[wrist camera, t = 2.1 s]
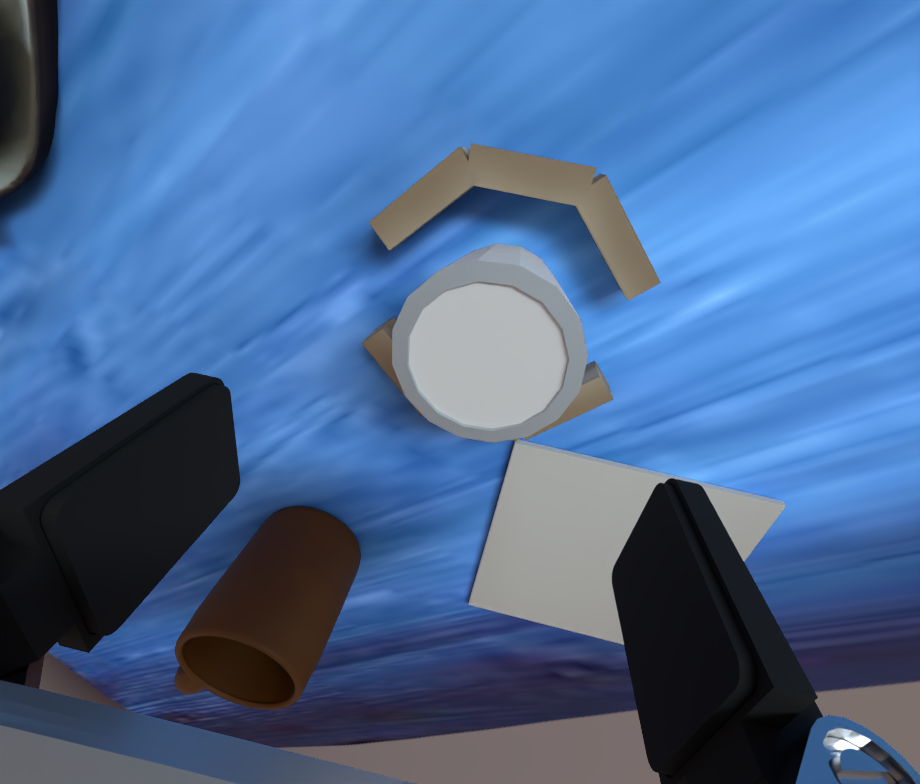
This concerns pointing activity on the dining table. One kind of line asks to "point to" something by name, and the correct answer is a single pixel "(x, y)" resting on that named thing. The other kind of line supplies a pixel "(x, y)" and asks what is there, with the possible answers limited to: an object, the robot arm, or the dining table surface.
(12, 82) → the salad plate
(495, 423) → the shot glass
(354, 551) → the mug
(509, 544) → the rubber mat
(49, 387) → the dining table surface
